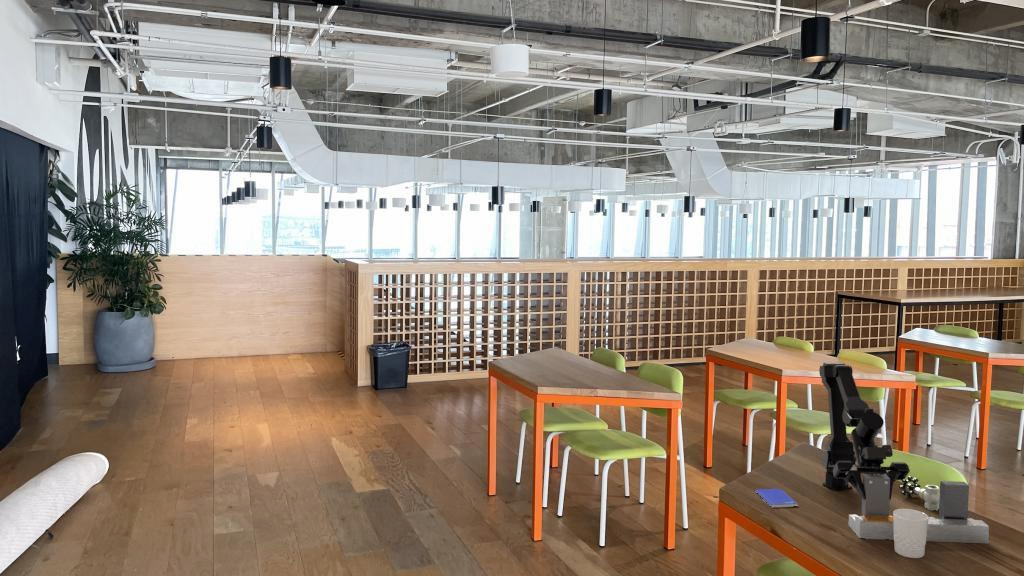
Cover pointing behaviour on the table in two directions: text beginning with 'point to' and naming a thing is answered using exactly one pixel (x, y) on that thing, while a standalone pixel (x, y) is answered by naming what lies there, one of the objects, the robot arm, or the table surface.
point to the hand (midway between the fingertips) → (877, 499)
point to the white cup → (910, 532)
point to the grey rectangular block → (876, 495)
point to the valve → (922, 493)
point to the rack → (932, 520)
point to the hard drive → (776, 498)
